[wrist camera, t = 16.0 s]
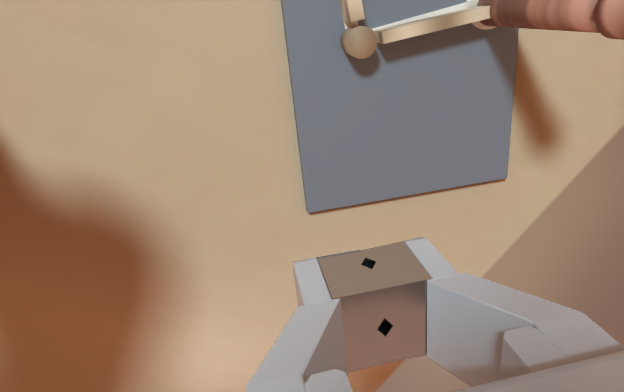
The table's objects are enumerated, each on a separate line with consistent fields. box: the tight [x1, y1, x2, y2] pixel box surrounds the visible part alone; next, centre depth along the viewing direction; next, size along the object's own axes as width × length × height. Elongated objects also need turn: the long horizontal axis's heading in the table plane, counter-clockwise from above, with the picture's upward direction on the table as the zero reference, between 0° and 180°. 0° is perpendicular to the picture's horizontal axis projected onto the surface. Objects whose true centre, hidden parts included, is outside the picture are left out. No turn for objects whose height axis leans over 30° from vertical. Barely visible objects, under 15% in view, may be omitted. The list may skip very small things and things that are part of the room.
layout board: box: [281, 0, 519, 213], centre depth 41 cm, size 22×29×1 cm
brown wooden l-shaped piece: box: [374, 0, 624, 44], centre depth 33 cm, size 13×4×16 cm, turn 102°
